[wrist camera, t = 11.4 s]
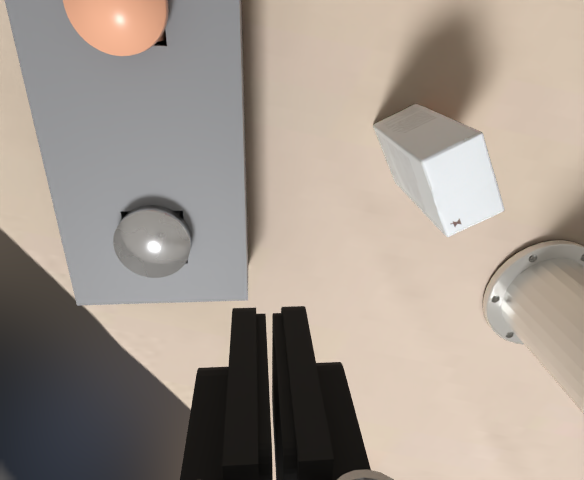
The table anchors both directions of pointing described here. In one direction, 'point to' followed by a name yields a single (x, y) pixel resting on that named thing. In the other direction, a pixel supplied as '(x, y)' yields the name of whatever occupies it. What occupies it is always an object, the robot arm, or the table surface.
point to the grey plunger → (153, 241)
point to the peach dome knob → (119, 24)
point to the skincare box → (440, 167)
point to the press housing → (142, 145)
